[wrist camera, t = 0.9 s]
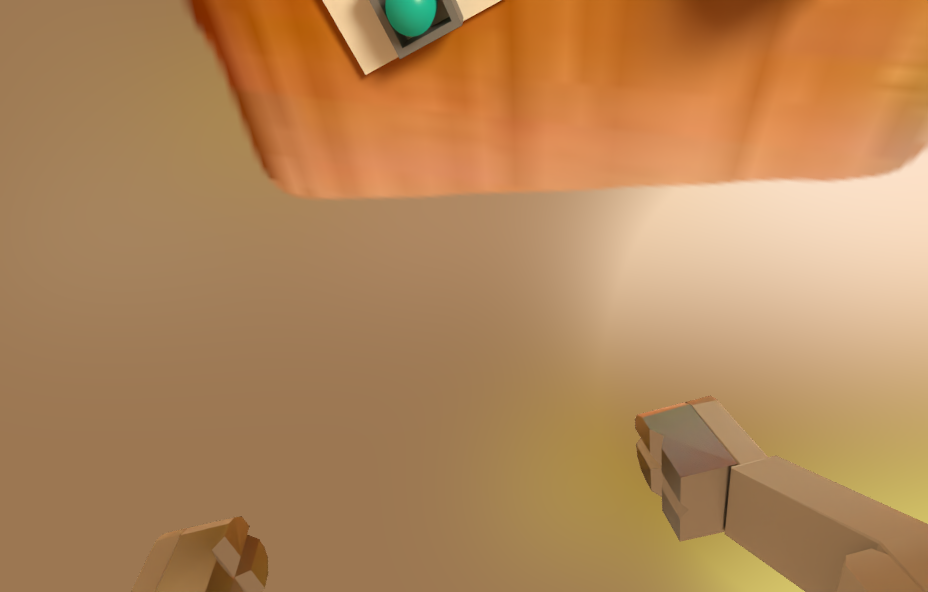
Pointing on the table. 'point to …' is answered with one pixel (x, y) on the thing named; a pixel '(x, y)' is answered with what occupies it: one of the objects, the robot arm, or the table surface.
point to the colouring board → (377, 42)
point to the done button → (411, 15)
